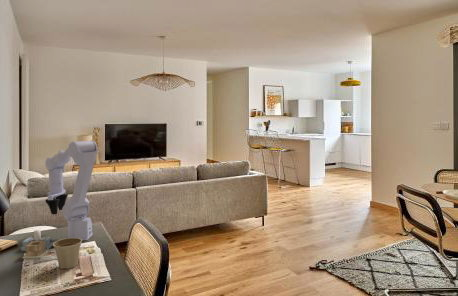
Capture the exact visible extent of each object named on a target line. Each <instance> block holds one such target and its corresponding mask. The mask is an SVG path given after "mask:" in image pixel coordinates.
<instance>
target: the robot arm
mask: <svg viewBox="0 0 458 296" xmlns="http://www.w3.org/2000/svg"><path fill="white" fill-rule="evenodd" d="M98 152H99V148H98V144H97V143H96V141H95V140H84V141H83V140H82V141H71V142H69V143H68V146H67V148H66V149H65V150H63V149H61V150H58V153H56V154H54V155H53V156H52V157H47V158H46V159H45V162H44V164H45V168H46V170H48V182H49V185H48V186H49V192H47V198H45V203H46V204H47V206H48V208H49V211H50V214H51V215H57V214H58V210H59V211H61V213H62V217H63V218H64V219H65V220H66V221H67V236H68V237H67V238H80V239H82V241H88V240H89V239H90V238H91V237H92V236H93V235H94V234H93V222H92V218H91V217H88V215H89V213H90V201H89V199H88V198H87V193H88V189H89V186H90V181H91V177H92V173H93V171H94V167H95V162H96V160H97V156H98ZM71 158H72V160H73V162H74V164H76V165H77V166H79V167H78V171H77V174H76V179H75V184H74V187H73V191H72V195H71V197H70V198H68V197H69V194H68V193H66V189H65V188H64V175H63V173H64V171H65V165H66V164H68V163H69V162H70V161H71ZM67 198H68V199H67Z"/></svg>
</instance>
